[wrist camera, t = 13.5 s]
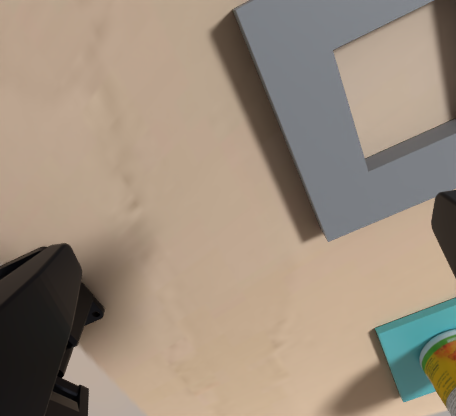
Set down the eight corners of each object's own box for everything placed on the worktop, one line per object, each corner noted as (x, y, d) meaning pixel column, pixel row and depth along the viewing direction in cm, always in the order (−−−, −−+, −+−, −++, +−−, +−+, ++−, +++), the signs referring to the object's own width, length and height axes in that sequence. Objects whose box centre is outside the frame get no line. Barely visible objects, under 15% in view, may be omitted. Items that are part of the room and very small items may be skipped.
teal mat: (400, 396, 34) (403, 402, 33) (374, 328, 29) (378, 334, 29) (510, 358, 32) (515, 363, 32) (501, 280, 28) (507, 285, 27)
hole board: (320, 229, 24) (328, 241, 23) (232, 9, 18) (235, 9, 16) (538, 136, 22) (559, 145, 21) (529, -149, 16) (560, -163, 14)
